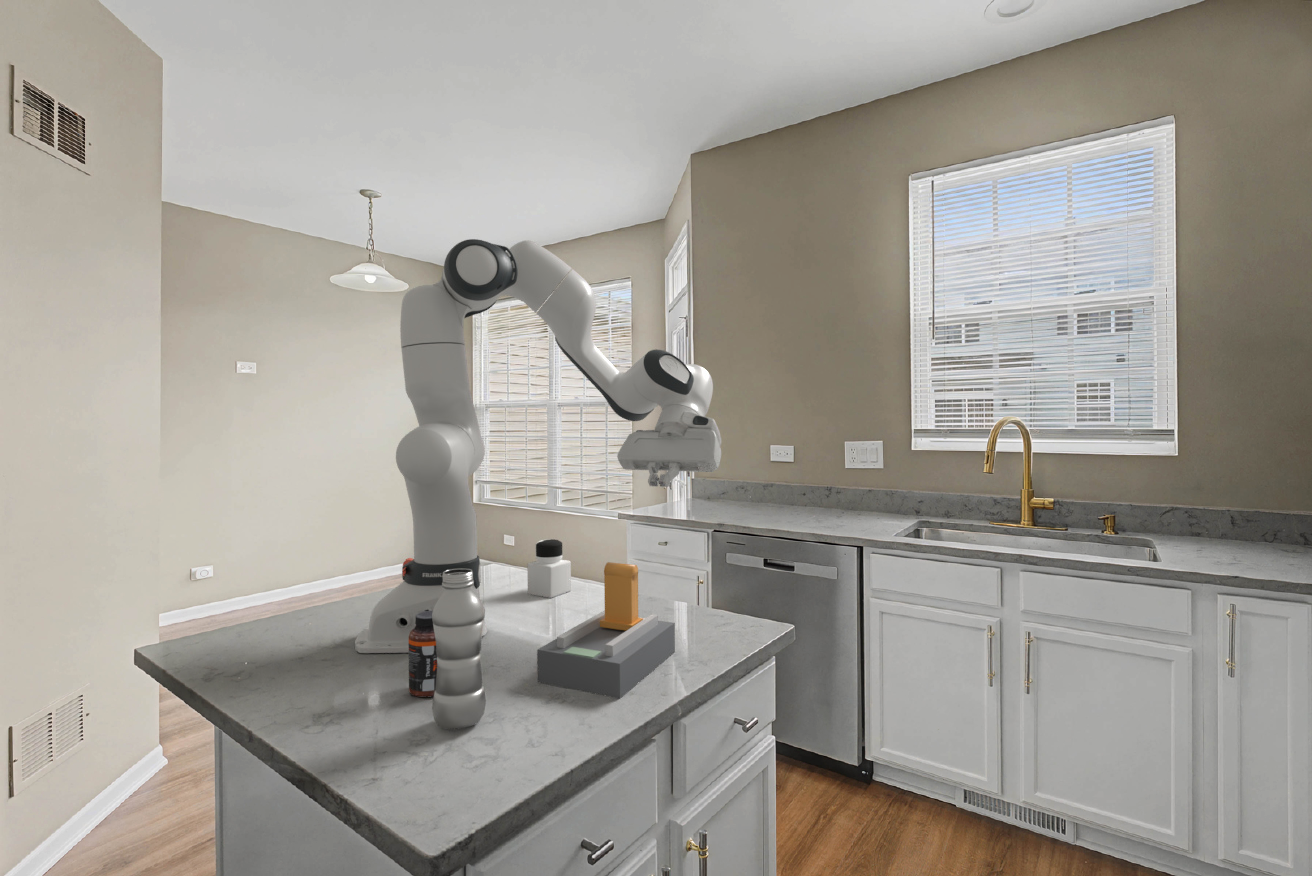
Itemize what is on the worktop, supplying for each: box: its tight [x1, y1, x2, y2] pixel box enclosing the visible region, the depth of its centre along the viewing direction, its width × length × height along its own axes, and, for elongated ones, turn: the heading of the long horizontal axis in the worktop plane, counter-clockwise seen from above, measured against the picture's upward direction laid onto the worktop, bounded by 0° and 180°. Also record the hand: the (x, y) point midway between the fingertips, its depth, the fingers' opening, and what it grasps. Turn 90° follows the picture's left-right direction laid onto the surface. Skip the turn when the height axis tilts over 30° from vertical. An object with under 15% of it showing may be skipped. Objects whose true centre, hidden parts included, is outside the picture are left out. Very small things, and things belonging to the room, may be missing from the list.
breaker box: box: [536, 609, 676, 699], centre depth 104 cm, size 20×14×7 cm
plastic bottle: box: [431, 569, 487, 730], centre depth 84 cm, size 6×7×20 cm
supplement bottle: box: [408, 611, 437, 698], centre depth 95 cm, size 6×6×11 cm
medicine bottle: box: [526, 538, 572, 599], centre depth 148 cm, size 7×7×12 cm
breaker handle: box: [600, 561, 644, 631], centre depth 107 cm, size 4×6×10 cm, turn 65°
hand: (657, 484), depth 120 cm, fingers closed
